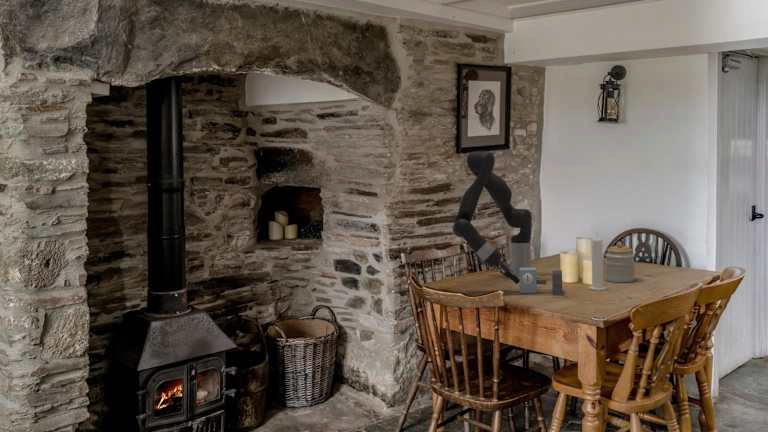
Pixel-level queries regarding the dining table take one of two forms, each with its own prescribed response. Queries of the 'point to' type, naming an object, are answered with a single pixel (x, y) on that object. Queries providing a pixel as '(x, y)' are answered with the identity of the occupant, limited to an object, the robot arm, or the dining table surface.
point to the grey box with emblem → (529, 280)
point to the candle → (597, 264)
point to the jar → (620, 264)
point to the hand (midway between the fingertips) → (518, 282)
